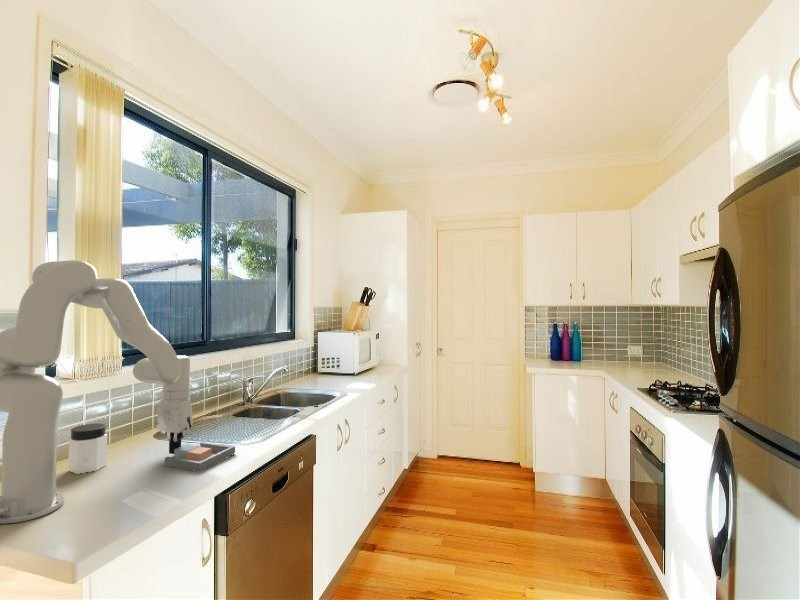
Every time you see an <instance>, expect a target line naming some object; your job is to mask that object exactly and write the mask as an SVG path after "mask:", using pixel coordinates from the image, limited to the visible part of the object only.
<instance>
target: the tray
mask: <svg viewBox="0 0 800 600" xmlns="http://www.w3.org/2000/svg"><path fill="white" fill-rule="evenodd" d="M199 447H204V448H212V453H214V452H217V453H214V454H213V455H212V456H211V457H208V458H206V459H204V460H202V461H200V462H199V461H192V460H186V459H180V458H174V456H172V457H171V456H166V457H164V464H163V465H164V467H167V466H169V468H173V467H175V468H174V469H179V468H182V469H181V470H185V469H187V470H186V471H191V470H195V471H194V472H197V471H201V470H203V469H205V468H207V467H209V466H211V465H213V464H215V463H217V462H219V461H221V460H223V459H225V458H226V457H228V456H230V455H232V454H234V453H235V454H236V446H233V445H227V444H218V443H213V442H206V441H202V442H200V443H199ZM235 454H234V455H235ZM225 460H226V459H225ZM223 461H224V460H223ZM221 462H222V461H221ZM219 463H220V462H219ZM217 464H218V463H217ZM215 465H216V464H215ZM213 466H214V465H213ZM211 467H212V466H211ZM209 468H210V467H209ZM207 469H208V468H207ZM205 470H206V469H205ZM203 471H204V470H203ZM201 472H202V471H201Z"/></svg>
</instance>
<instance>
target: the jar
mask: <svg viewBox="0 0 800 600" xmlns="http://www.w3.org/2000/svg"><path fill="white" fill-rule="evenodd" d="M106 428H107V427H106V424H105V423H98V422H97V423H87V424H81V425H77V426H75V427H72V429H70V438H68V464H67V467H68V468H67V469H68V472H69V471H70V472H71V473H72V472H73V473H72V474H75V475H81V474H80V473H82V474H87V473H86V472H88V473H93V472H92V471H94V472H97V471H99V470H101V469H102V468H104V467H106V466H107V465H108V462H107V461H108V460H107V459H108V434H107V433H106Z"/></svg>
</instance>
